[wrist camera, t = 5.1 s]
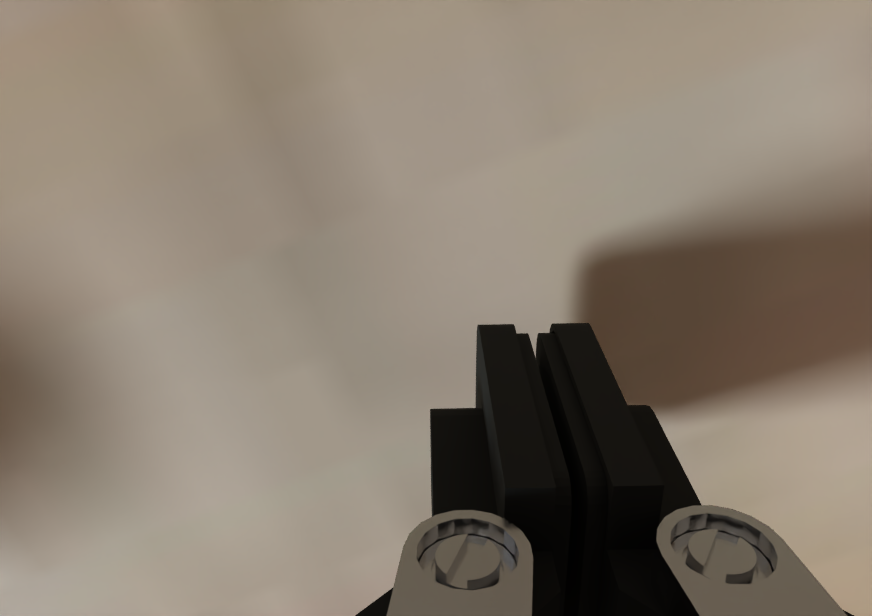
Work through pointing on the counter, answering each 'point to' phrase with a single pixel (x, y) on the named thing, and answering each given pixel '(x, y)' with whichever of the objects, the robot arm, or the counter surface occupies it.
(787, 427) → the counter surface
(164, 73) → the counter surface
